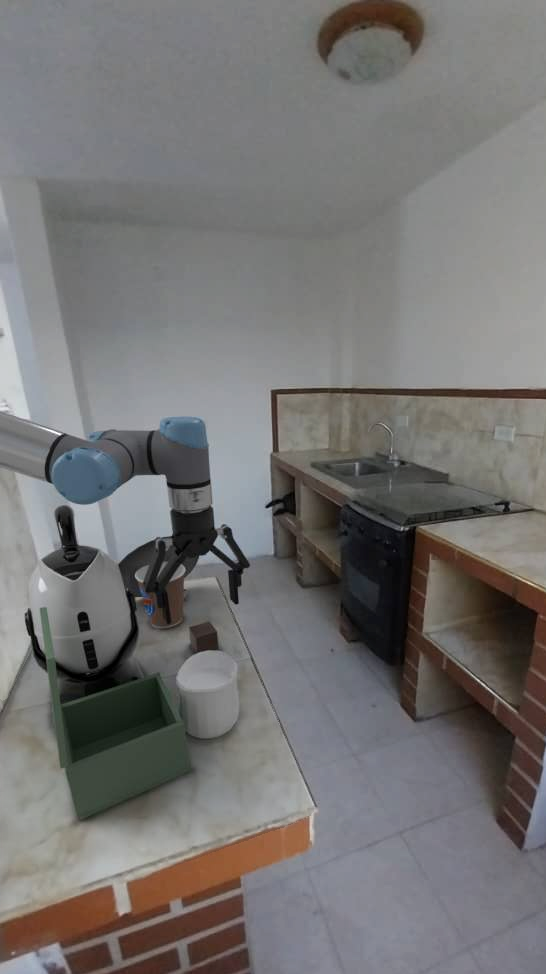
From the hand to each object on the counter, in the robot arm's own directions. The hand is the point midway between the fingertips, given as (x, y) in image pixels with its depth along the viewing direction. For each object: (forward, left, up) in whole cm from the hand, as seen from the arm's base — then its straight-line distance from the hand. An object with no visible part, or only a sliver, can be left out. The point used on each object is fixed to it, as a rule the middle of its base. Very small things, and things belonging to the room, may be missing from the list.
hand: (202, 610), depth 89 cm
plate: (-21, -2, 0) cm, 21 cm away
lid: (+21, -26, +8) cm, 34 cm away
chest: (+21, -19, -9) cm, 30 cm away
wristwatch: (-24, 0, -8) cm, 25 cm away
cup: (+19, -6, -9) cm, 22 cm away
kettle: (+3, -20, -9) cm, 22 cm away
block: (0, 0, -9) cm, 9 cm away
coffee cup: (-14, -4, -9) cm, 17 cm away
